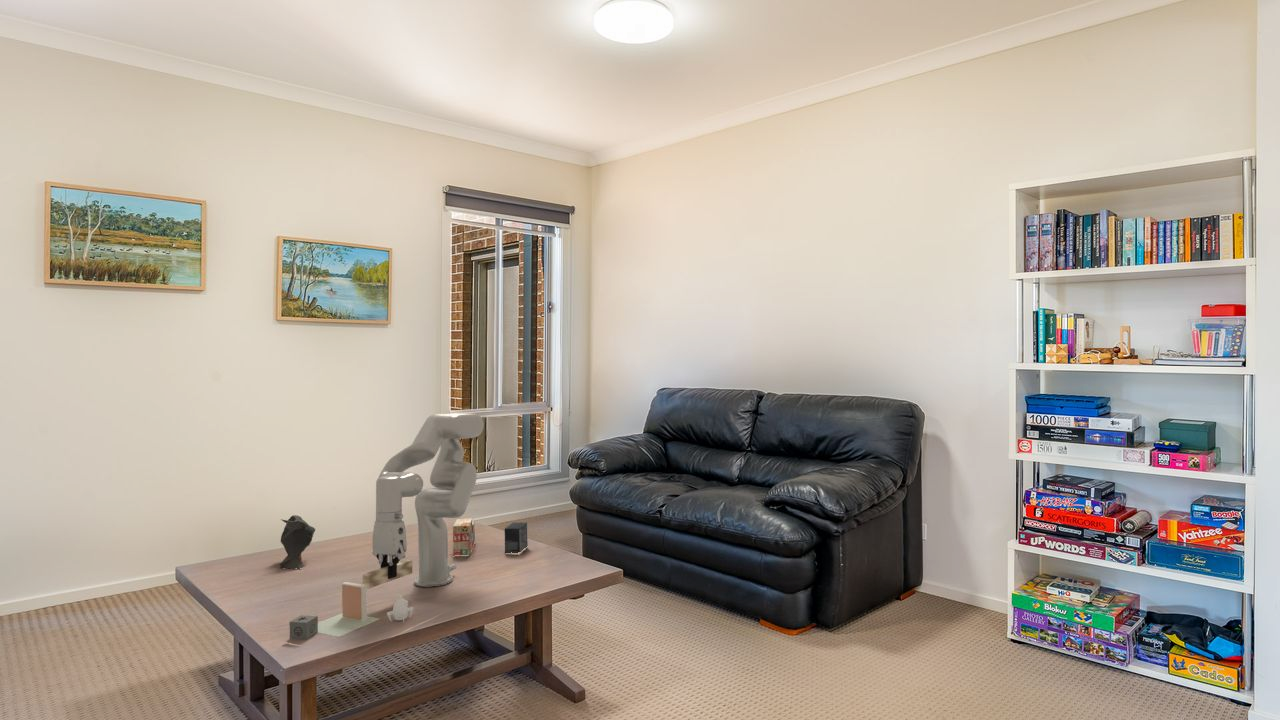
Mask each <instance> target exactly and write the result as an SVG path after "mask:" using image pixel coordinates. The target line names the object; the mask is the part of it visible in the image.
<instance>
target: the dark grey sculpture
mask: <svg viewBox="0 0 1280 720" xmlns="http://www.w3.org/2000/svg"><path fill="white" fill-rule="evenodd" d="M280 520H281V521H282V522H284V523H286V524H285V526H284V528H283V531H282V533H281V537H280V543H281V544H282V546H283V547H284V550H285V552H286V554H287V555H286V557H285V558H284V559H283V560H282V561H281V563H279V568H297V569H296V570H301V569H300V568H303V567H305V568H306V566H305V565H304V564H303V563H302V561H303V560H302V553H303V552H304V551H305V550H306V548H307V547H309V546H310V545H311V543H312V541H313V537H314V534H315V532H316V528H315V527H314V526H311V525H309V523H307V522H306V521H305V520H304V519H303V518H302V517H301V516H300V515H295V514H294V515H292V516H290V517H289V518H288V520H287V519H280ZM303 569H304V568H303Z"/></svg>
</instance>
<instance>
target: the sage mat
mask: <svg viewBox="0 0 1280 720" xmlns="http://www.w3.org/2000/svg"><path fill="white" fill-rule="evenodd" d="M366 618H367V620H365V621H363V622H362V621H357V620H352V619H347V618H342V612H341V613H339V614H337V615H335V616H332V617H329V618H327V619H324V620H322V621H319V622H318V633H319V634H323V635H327V636H332V637H337V638H339V637H342V636H344V635H347V634H349V633H351V632H353V631H356V630H358V629H360V628H362V627H365V626H367V625H369V624H372V623H374V622H377V621H379V620H380V618H377V617H373V616H372V617H371V616H368V615H366ZM318 633H317V634H318Z"/></svg>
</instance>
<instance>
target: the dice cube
mask: <svg viewBox="0 0 1280 720" xmlns="http://www.w3.org/2000/svg"><path fill="white" fill-rule="evenodd" d="M318 621H319V617H318V615H304V614H303V615H302V614H301V615H299V616H298V617H296V618H293V619H292V620H290V621H289V639H291V640H309V639H310V638H312V637H313V636H315V635H317V634H318V623H319V622H318Z"/></svg>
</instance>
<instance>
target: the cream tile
mask: <svg viewBox="0 0 1280 720" xmlns="http://www.w3.org/2000/svg"><path fill="white" fill-rule="evenodd" d="M341 613H342V618H347V619H352V620H357V621H362V622H363V621H365V620H367V618H366V616H367V588H366V585H363V583H362V584H361V583H355V582H348V581H345V582H342V583H341Z"/></svg>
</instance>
